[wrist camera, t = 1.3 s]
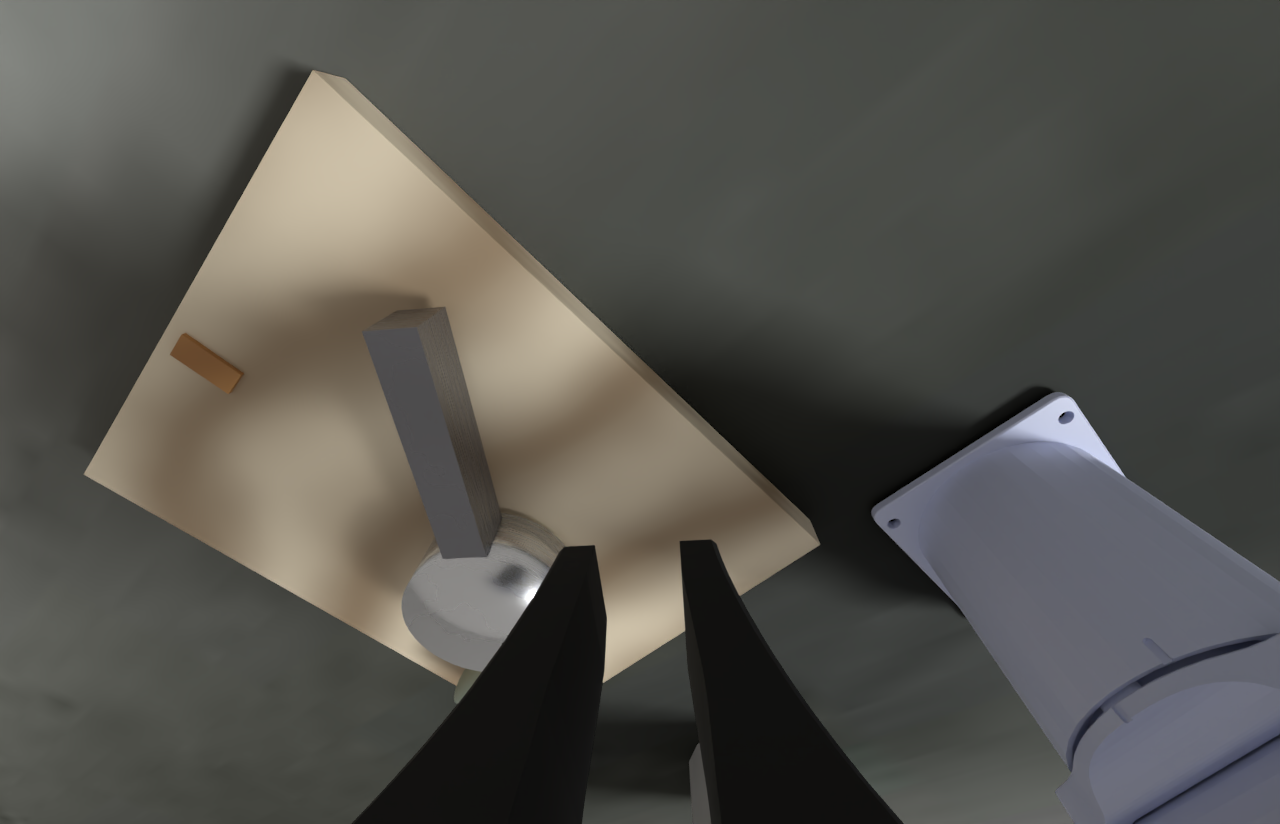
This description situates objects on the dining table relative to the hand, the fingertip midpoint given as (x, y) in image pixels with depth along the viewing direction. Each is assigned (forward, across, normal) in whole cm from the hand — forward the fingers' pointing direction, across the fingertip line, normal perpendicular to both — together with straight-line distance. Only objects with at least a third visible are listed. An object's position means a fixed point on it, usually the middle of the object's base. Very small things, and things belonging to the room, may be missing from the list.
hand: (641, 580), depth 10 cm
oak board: (+9, +8, +4) cm, 13 cm away
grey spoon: (+8, +6, +3) cm, 10 cm away
